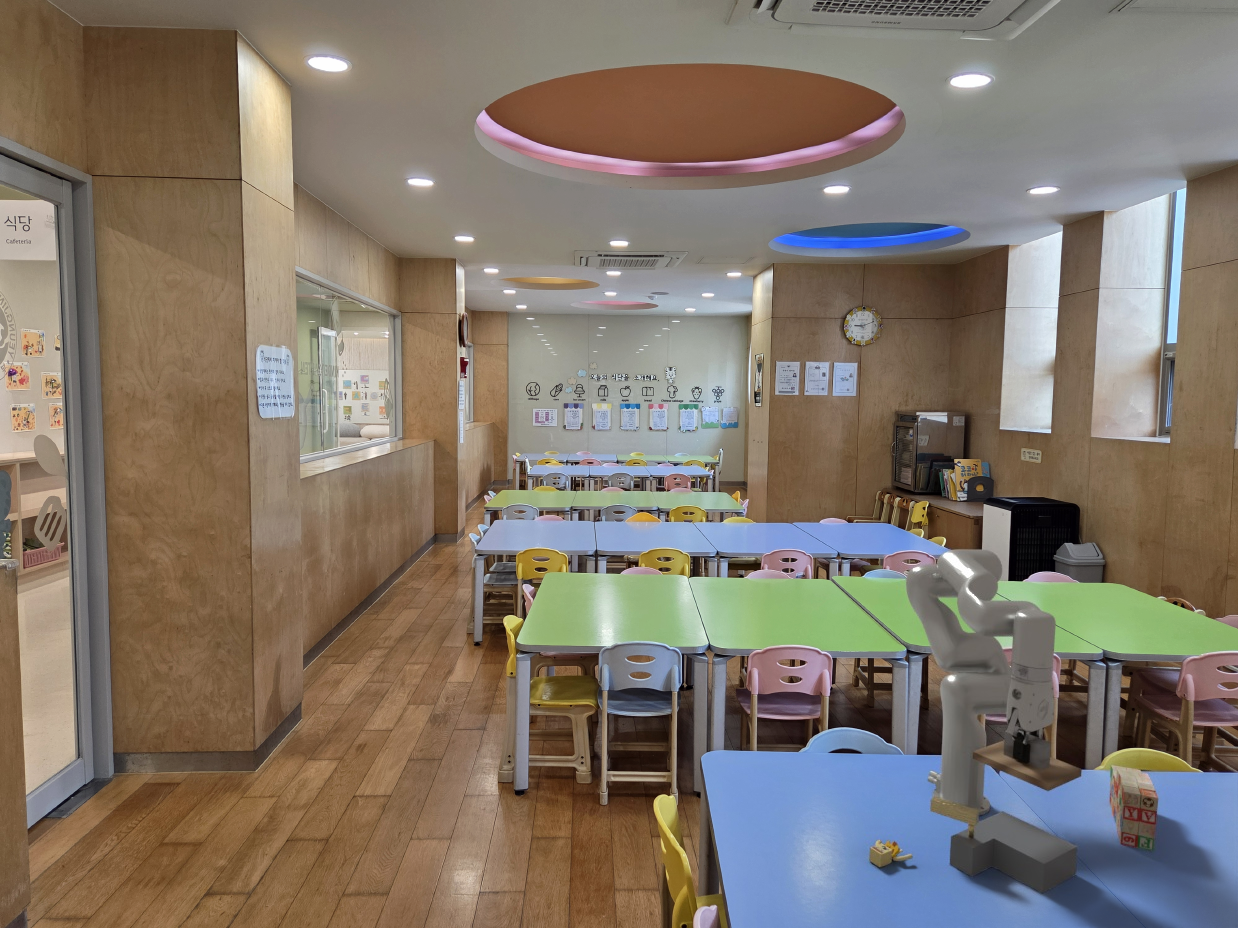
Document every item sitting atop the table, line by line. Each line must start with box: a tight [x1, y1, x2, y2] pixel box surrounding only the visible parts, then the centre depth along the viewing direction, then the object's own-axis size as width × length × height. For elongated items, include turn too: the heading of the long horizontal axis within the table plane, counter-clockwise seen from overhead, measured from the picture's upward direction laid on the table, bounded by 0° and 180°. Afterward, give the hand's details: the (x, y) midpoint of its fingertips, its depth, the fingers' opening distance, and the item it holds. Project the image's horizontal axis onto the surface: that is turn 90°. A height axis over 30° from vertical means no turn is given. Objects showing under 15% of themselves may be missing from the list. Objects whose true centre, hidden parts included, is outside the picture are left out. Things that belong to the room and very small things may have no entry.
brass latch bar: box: [929, 796, 980, 838], centre depth 164 cm, size 2×9×6 cm, turn 51°
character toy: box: [868, 839, 914, 868], centre depth 164 cm, size 8×3×8 cm
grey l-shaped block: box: [949, 811, 1078, 894], centre depth 161 cm, size 16×19×6 cm
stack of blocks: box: [1109, 764, 1159, 852], centre depth 179 cm, size 21×6×12 cm, turn 154°
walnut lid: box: [973, 730, 1083, 792], centre depth 162 cm, size 16×12×6 cm
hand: (1026, 757), depth 162 cm, fingers closed on walnut lid, 3 cm apart
